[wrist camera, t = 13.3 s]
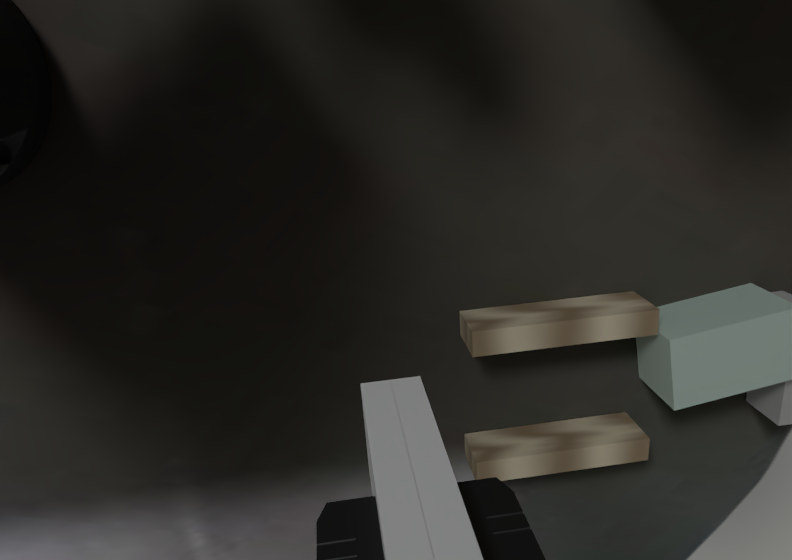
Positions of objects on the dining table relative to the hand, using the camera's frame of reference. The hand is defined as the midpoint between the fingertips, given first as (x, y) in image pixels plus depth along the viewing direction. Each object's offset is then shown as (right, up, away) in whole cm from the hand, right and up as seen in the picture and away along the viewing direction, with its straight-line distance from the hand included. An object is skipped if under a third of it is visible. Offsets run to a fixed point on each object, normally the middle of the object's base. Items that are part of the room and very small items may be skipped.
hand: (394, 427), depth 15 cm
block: (+25, 0, +35) cm, 43 cm away
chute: (+12, -4, +34) cm, 37 cm away
